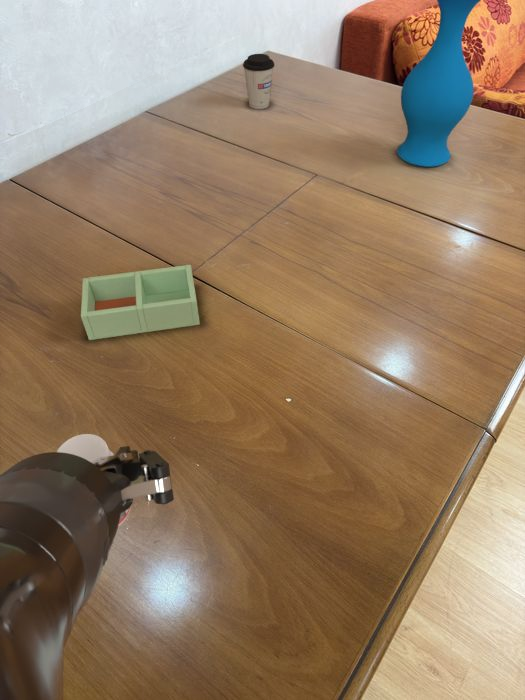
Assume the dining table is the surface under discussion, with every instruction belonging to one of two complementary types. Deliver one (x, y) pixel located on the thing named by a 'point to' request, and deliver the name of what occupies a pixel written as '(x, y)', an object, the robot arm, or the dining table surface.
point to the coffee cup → (258, 79)
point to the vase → (437, 90)
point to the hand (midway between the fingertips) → (93, 464)
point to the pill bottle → (89, 453)
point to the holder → (139, 302)
